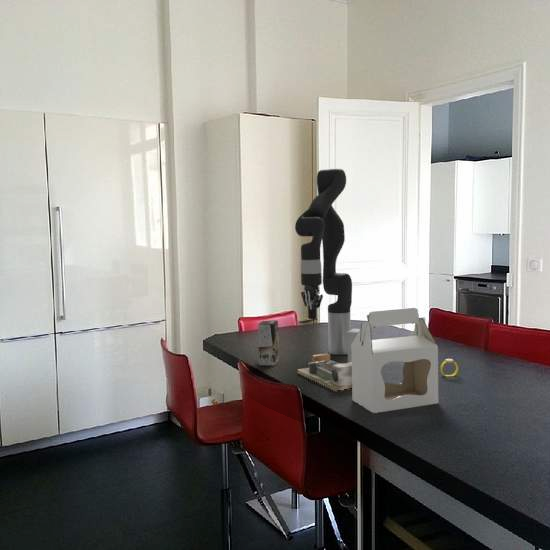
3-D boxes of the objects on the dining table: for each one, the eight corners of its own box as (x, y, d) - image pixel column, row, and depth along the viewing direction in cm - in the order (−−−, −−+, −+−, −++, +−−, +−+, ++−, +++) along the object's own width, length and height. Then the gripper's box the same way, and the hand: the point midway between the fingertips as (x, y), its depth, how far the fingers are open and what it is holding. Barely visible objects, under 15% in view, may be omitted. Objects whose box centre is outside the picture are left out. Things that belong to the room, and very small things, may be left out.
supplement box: (371, 361, 223) (370, 329, 222) (366, 365, 216) (365, 332, 215) (353, 359, 226) (352, 328, 225) (347, 364, 219) (346, 331, 218)
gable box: (414, 391, 182) (413, 304, 180) (439, 403, 170) (438, 309, 167) (351, 400, 175) (349, 309, 173) (372, 413, 163) (370, 316, 160)
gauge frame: (333, 367, 214) (333, 348, 214) (373, 385, 191) (373, 362, 190) (297, 373, 208) (297, 353, 208) (334, 391, 185) (333, 368, 184)
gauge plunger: (328, 366, 209) (327, 353, 209) (336, 370, 204) (335, 356, 204) (303, 370, 205) (302, 356, 205) (310, 374, 200) (310, 359, 200)
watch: (442, 378, 197) (441, 361, 197) (439, 376, 200) (438, 359, 199) (459, 376, 198) (458, 359, 197) (456, 374, 200) (455, 357, 200)
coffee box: (275, 365, 220) (273, 324, 219) (258, 365, 222) (257, 324, 220) (279, 360, 229) (278, 320, 228) (263, 359, 230) (262, 320, 229)
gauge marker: (314, 372, 201) (314, 362, 201) (316, 373, 200) (315, 362, 200) (309, 373, 200) (308, 363, 200) (310, 373, 199) (310, 363, 199)
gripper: (329, 272, 205) (330, 320, 207) (311, 270, 217) (312, 315, 219) (310, 273, 202) (311, 322, 204) (293, 271, 214) (295, 317, 216)
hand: (312, 318), depth 211 cm, fingers closed
